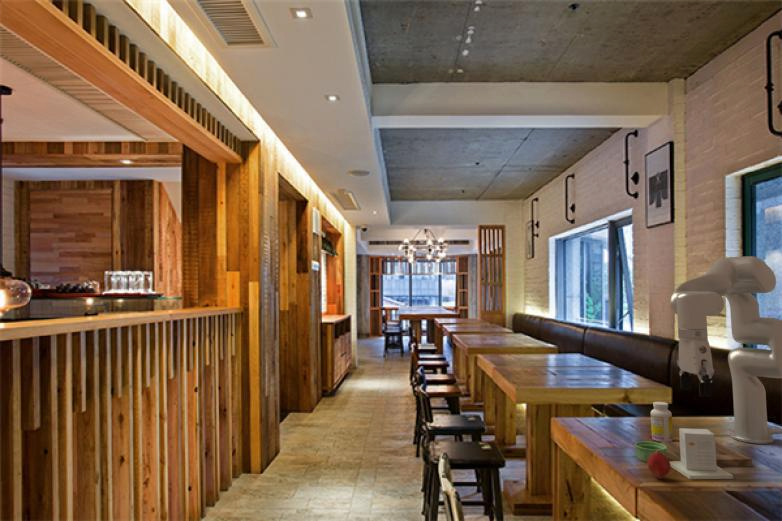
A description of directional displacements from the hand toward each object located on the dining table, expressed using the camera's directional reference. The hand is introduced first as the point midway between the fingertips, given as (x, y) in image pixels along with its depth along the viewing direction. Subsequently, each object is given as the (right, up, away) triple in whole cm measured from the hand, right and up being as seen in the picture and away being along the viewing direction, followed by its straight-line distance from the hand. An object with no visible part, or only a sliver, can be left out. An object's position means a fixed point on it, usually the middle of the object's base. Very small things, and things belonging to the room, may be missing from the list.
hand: (695, 393), depth 152 cm
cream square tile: (0, -23, -1) cm, 23 cm away
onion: (-14, -23, -6) cm, 27 cm away
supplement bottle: (+6, -24, +29) cm, 39 cm away
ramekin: (-8, -24, +10) cm, 27 cm away
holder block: (+9, -23, +11) cm, 27 cm away
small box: (0, -22, -1) cm, 22 cm away
